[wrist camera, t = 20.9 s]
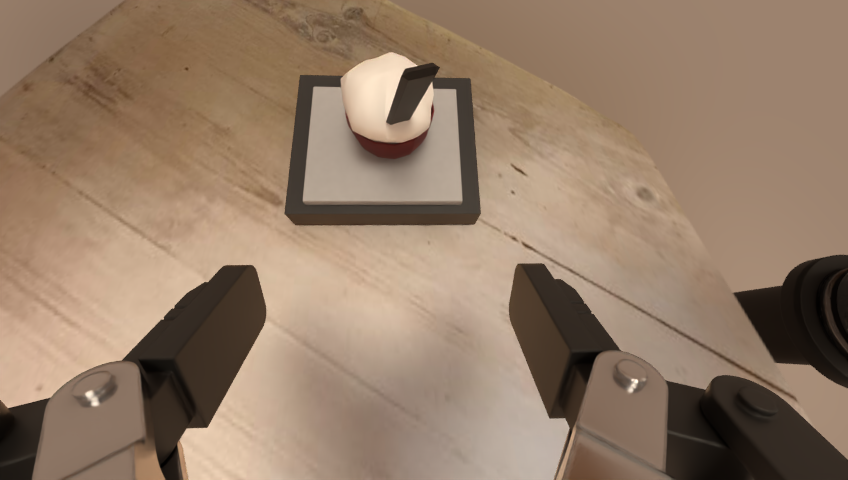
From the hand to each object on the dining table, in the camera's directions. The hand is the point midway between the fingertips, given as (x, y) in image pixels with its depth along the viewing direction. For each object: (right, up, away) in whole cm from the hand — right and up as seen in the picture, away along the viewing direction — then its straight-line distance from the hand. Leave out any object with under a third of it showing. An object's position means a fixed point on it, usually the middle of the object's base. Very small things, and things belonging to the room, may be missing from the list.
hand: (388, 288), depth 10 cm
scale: (-2, +9, +19) cm, 21 cm away
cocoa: (-1, +9, +16) cm, 19 cm away
